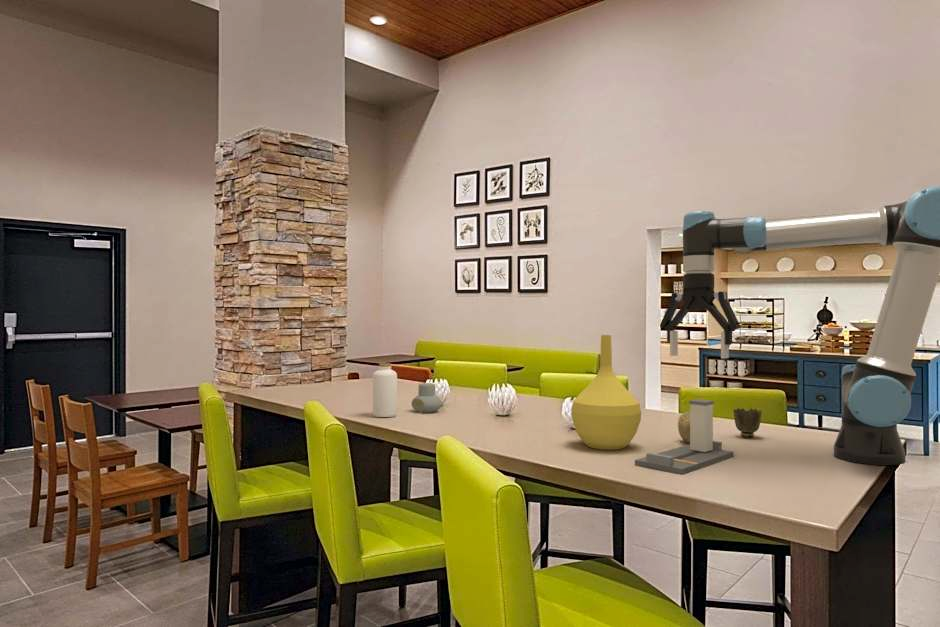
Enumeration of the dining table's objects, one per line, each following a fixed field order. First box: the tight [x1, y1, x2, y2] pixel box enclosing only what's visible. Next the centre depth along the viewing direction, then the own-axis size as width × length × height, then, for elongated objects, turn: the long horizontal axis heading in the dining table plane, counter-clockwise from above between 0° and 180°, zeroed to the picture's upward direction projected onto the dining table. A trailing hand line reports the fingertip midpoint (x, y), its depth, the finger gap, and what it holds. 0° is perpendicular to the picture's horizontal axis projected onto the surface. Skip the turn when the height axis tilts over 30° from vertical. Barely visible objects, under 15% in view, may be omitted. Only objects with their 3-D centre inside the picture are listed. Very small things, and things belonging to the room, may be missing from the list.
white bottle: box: [372, 362, 398, 418], centre depth 222 cm, size 8×8×18 cm
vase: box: [570, 334, 642, 451], centre depth 174 cm, size 18×18×30 cm
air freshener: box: [411, 382, 443, 413], centre depth 232 cm, size 11×8×10 cm
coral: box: [677, 410, 690, 444], centre depth 179 cm, size 10×10×10 cm
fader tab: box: [688, 398, 715, 452], centre depth 163 cm, size 4×4×12 cm
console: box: [634, 440, 734, 475], centre depth 157 cm, size 26×12×3 cm, turn 134°
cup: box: [733, 407, 763, 439], centre depth 186 cm, size 8×7×8 cm
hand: (698, 357), depth 164 cm, fingers open, 13 cm apart
